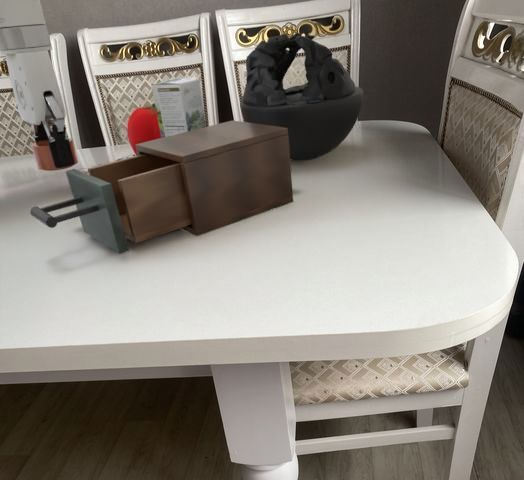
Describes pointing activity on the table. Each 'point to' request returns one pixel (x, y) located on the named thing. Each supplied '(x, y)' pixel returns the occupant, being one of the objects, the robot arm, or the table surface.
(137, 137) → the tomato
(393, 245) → the table surface
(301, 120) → the black sculpted bowl
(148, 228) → the drawer
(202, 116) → the syrup box
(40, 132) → the robot arm
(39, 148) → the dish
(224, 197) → the cabinet
